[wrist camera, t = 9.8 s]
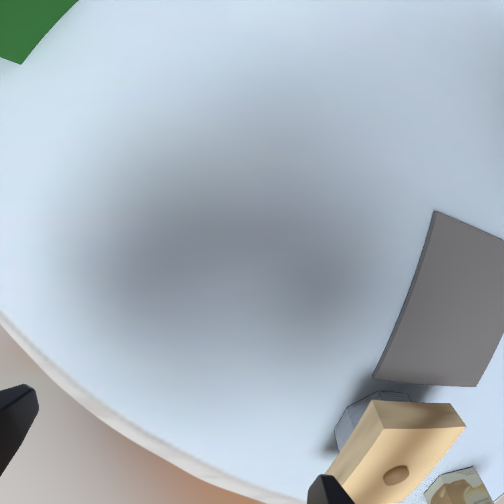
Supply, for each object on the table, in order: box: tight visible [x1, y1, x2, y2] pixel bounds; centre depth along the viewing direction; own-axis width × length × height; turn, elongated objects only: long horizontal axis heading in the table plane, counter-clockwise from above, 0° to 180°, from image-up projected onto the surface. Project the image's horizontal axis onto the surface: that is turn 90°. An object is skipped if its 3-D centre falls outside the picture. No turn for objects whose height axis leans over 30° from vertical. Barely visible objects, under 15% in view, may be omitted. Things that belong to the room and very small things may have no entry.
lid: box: [325, 400, 466, 504], centre depth 16 cm, size 7×9×3 cm
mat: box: [373, 211, 504, 387], centre depth 18 cm, size 11×12×1 cm
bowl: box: [334, 391, 411, 453], centre depth 19 cm, size 6×6×3 cm
